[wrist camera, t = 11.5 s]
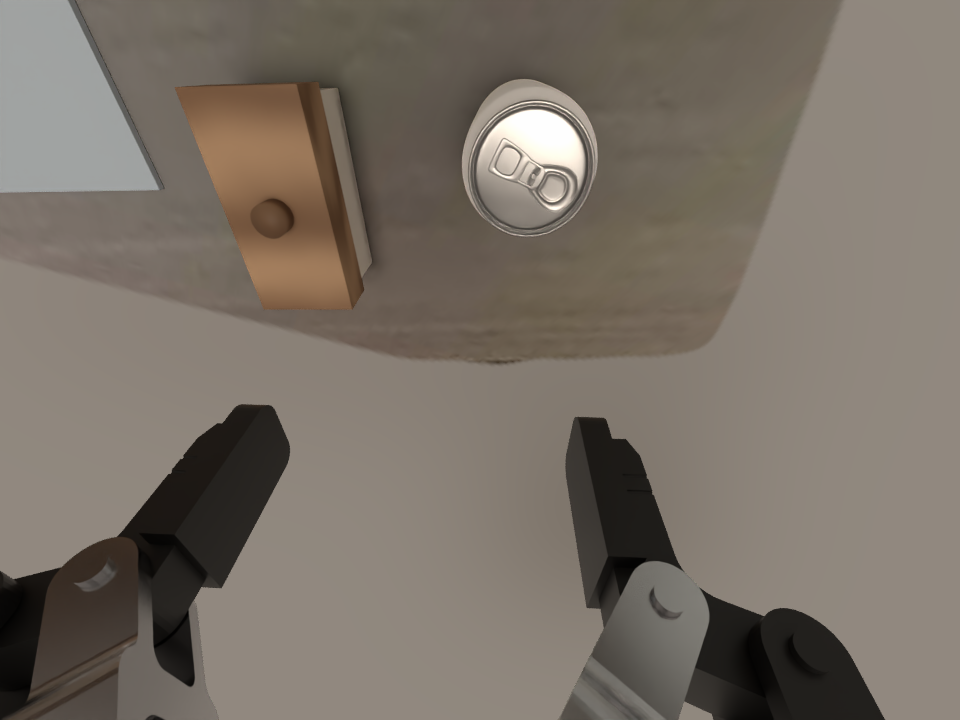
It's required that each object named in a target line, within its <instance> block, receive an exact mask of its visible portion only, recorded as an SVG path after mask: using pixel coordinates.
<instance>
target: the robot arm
mask: <svg viewBox="0 0 960 720" xmlns="http://www.w3.org/2000/svg"><path fill="white" fill-rule="evenodd" d="M289 456H290V446H289V442H288V439H287V437H286V435H285V433H284V430H283V428H282V425H281V423H280V421H279V419H278V416H277V414H276V411H275V409H274V408H273V407H272V406H270V405H246V404H241V405H238V406H236V407H235V408H234V410H233V411H232V412H231V413H230V414H229V416H228V417H227V418H226V420H225V421H224V422H223V423H222V424H220V423H217V424H216V425H215V426H213V427H212V428H210V429H209V430H208V431H206V432H205V433H204V434H202V435H201V436H200V437H198V438H197V439H196V441H195V442H194V443H193V444H192V446H191V447H190V448H189V449H188V450H187V452H186V453H185V454H184V458H183V459H180V461H179V462H178V463H177V464H176V466H175V467H174V468H173V469H172V473H171V474H168V475H167V477H166V478H165V479H164V480H163V481H162V483H161V484H160V485H159V487H158V488H157V489H156V490H155V492H154V493H153V494H152V495H151V496H150V498H149V499H148V500H147V501H146V503H145V504H144V505H143V506H142V508H141V509H140V510H139V511H138V512H137V514H136V515H135V516H134V517H133V519H132V520H131V521H130V522H129V524H128V525H127V526H126V527H125V529H124V530H123V531H122V532H121V533H120V534H119V535H118V536H117V537H114V538H109V539H105V540H102V541H99V542H97V543H95V544H93V545H91V546H89V547H87V548H85V549H84V550H82V551H80V552H79V553H78V554H76V555H75V556H73V557H72V558H71V559H70V560H69V561H67V563H65V564H64V565H63V566H62V567H61V568H57V569H53V570H49V571H45V572H41V573H37V574H33V575H29V576H26V577H21V578H17V579H12V578H10V577H9V576H7V575H6V574H4V573H3V572H1V571H0V720H219V718H218V714H217V711H216V709H215V706H214V704H213V702H212V700H211V699H210V697H209V694H208V692H207V688H206V683H205V675H204V666H203V657H202V648H201V639H200V630H199V621H198V612H197V606H196V603H195V601H194V599H195V597H196V595H197V594H198V592H199V590H200V588H201V587H209V588H222V586H223V584H224V583H225V580H226V579H227V577H228V575H229V573H230V571H231V569H232V567H233V565H234V564H235V562H236V560H237V558H238V556H239V554H240V552H241V551H242V549H243V547H244V545H245V543H246V541H247V539H248V537H249V535H250V534H251V532H252V530H253V528H254V526H255V524H256V522H257V520H258V519H259V517H260V515H261V513H262V511H263V509H264V507H265V505H266V503H267V502H268V500H269V498H270V496H271V494H272V492H273V490H274V488H275V486H276V485H277V483H278V481H279V479H280V477H281V475H282V473H283V471H284V469H285V468H286V465H287V463H288V460H289ZM646 476H647V474H646V472H645V469H644V466H643V463H642V461H641V458H640V455H639V454H638V453H637V452H636V451H635V449H634V448H633V447H632V446H631V445H630V444H629V442H628V441H627V440H626V439H612V437H611V434H610V430H609V427H608V424H607V421H606V419H604V418H592V417H591V418H590V417H575V418H574V421H573V426H572V430H571V435H570V439H569V445H568V449H567V453H566V479H567V485H568V491H569V498H570V504H571V511H572V517H573V524H574V530H575V536H576V542H577V549H578V555H579V562H580V568H581V574H582V581H583V587H584V594H585V600H586V606H587V608H599V609H601V613H602V620H603V625H604V629H603V631H602V633H601V635H600V637H599V639H598V641H597V643H596V645H595V647H594V649H593V651H592V653H591V655H590V657H589V659H588V661H587V663H586V665H585V667H584V669H583V671H582V673H581V675H580V677H579V679H578V681H577V683H576V685H575V687H574V689H573V691H572V693H571V695H570V697H569V699H568V701H567V703H566V705H565V707H564V709H563V711H562V713H561V715H560V717H559V719H558V720H678V719H679V715H680V712H681V709H682V706H683V703H684V701H685V702H687V703H689V704H691V705H694V706H696V707H698V708H700V709H702V710H704V711H707V712H709V713H711V714H712V716H713V719H714V720H885V719H884V717H883V715H882V714H881V712H880V710H879V708H878V706H877V704H876V702H875V700H874V698H873V697H872V695H871V693H870V691H869V689H868V687H867V686H866V684H865V682H864V680H863V678H862V676H861V674H860V672H859V671H858V669H857V667H856V665H855V663H854V661H853V659H852V658H851V656H850V654H849V653H848V651H847V650H846V649H845V647H844V646H843V644H842V643H841V642H840V641H839V640H838V639H837V638H836V637H835V635H834V634H833V633H832V632H831V631H829V630H828V629H827V628H826V627H825V626H824V625H822V624H821V623H820V622H818V621H817V620H815V619H813V618H812V617H810V616H808V615H806V614H804V613H802V612H799V611H796V610H792V609H788V608H779V609H774V610H772V611H770V612H768V613H767V614H766V615H765V616H762V615H759V614H756V613H754V612H751V611H749V610H746V609H743V608H740V607H738V606H735V605H733V604H730V603H727V602H725V601H722V600H720V599H718V598H715V597H713V596H711V595H710V594H708V593H706V592H705V591H704V590H702V589H701V588H699V587H698V586H697V584H696V583H695V582H694V581H693V580H692V579H691V578H690V577H689V576H688V575H687V574H686V573H685V572H684V571H683V570H682V568H681V566H680V565H679V563H678V561H677V559H676V556H675V554H674V551H673V548H672V546H671V543H670V540H669V537H668V534H667V531H666V528H665V526H664V523H663V520H662V517H661V514H660V512H659V508H658V506H657V503H656V500H655V497H654V495H652V489H651V486H650V483H649V480H648V479H647V477H646Z"/></svg>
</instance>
